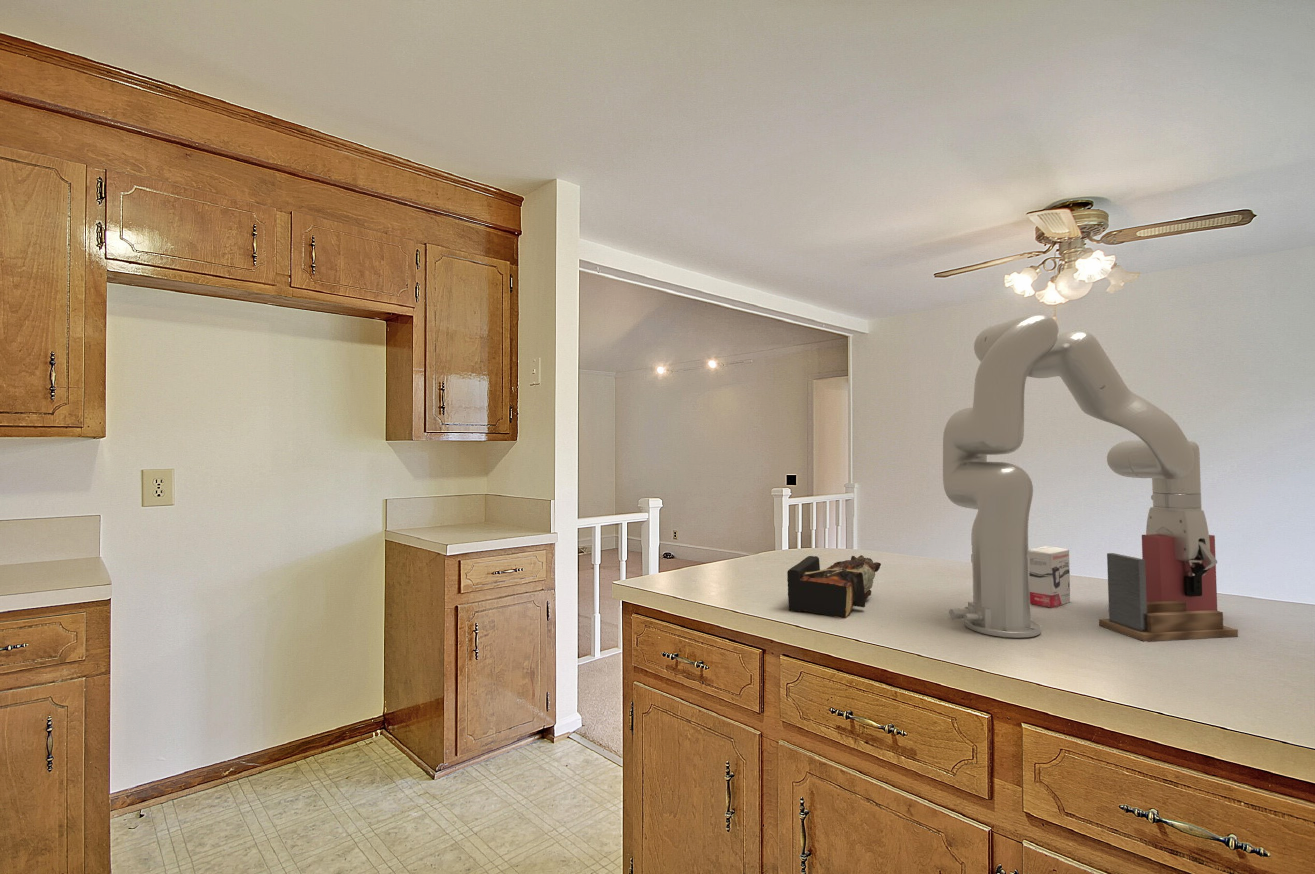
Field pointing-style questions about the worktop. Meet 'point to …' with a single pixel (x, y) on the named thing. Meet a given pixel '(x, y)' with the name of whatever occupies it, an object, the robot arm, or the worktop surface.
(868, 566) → the bookend
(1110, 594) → the steel bookend
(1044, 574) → the ink box
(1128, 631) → the book rack
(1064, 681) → the worktop surface
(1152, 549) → the book
